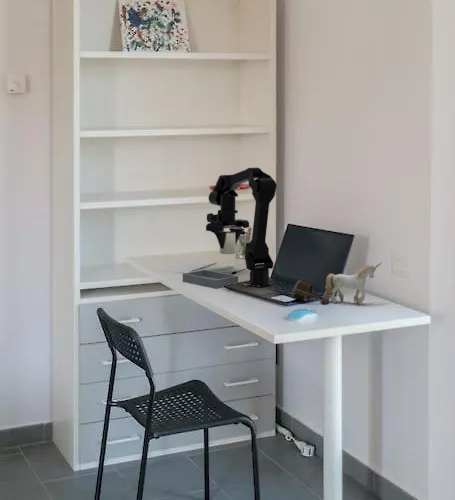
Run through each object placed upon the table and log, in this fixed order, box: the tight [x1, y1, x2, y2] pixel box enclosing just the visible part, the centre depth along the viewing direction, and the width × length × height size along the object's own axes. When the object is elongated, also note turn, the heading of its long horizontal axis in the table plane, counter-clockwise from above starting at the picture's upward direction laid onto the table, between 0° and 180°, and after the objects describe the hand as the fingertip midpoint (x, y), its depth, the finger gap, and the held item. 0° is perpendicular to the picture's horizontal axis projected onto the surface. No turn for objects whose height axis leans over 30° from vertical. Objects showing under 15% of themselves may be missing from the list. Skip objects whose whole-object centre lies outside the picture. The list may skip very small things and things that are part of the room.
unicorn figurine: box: [322, 262, 383, 306], centre depth 297 cm, size 7×20×13 cm, turn 88°
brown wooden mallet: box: [290, 279, 330, 305], centre depth 299 cm, size 7×13×10 cm
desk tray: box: [182, 269, 239, 289], centre depth 329 cm, size 18×12×3 cm, turn 46°
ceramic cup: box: [219, 230, 236, 255], centre depth 342 cm, size 6×6×8 cm
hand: (227, 247), depth 343 cm, fingers closed on ceramic cup, 6 cm apart
